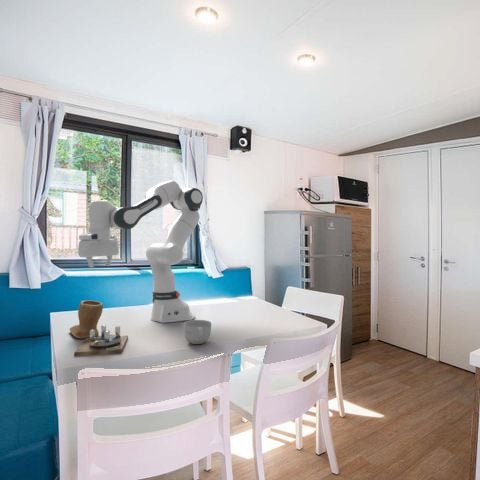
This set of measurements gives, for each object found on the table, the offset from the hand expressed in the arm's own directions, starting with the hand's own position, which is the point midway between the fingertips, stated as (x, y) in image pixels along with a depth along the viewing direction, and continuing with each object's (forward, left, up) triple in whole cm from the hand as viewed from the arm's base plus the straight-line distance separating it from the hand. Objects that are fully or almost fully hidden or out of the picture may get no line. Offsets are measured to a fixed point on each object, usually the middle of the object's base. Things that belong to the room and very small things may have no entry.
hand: (99, 266), depth 149 cm
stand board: (-6, +25, -29) cm, 39 cm away
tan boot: (+4, +7, -29) cm, 30 cm away
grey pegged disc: (-7, +26, -28) cm, 38 cm away
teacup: (-42, +28, -29) cm, 58 cm away
